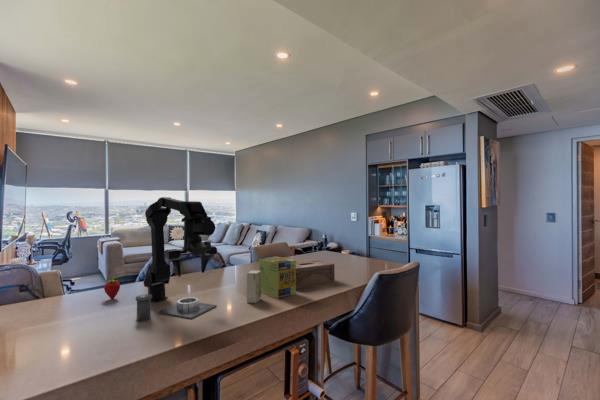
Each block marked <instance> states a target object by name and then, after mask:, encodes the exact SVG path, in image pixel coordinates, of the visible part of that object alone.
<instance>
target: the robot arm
mask: <svg viewBox="0 0 600 400" xmlns="http://www.w3.org/2000/svg"><path fill="white" fill-rule="evenodd" d="M172 210H174V211H178V212H179V214H180V215H182V216H184V217H183V218H182V219H181V220H180V221H181V223H184V224H183V226H184V227H183V236H182V239H183V247H182V250H179V249H177V248H172V249H170V248H169V249H165V226H166V224H167V222H168V216H169V215H170V214H171V212H172ZM144 213H145V215H144V216H145V218H146V219H145V221H146V223H147V224H148V226H149V227H150V231H151V232H150V234H151V235H150V238H151V260H152V261H151V264H150V265H149V266H148V271H147V275H146V277H144V280H143V286H144V287H146V288H148V289H147V290H148V291H147V294H151V295H152V298H151V302H153V303H157V302H160V301H164V300H166V299H168V298H169V297H168V296H167V295H166V286H165V285H167V284H168V285H169V284H170V279H171V274H172V273H171V265H170V264H169V263H167V262H166V259H167V260H168V261H171V262H172V265H173V267H174V269H175V272H176V274H177V276H178V277H179V278H180V277H181V272H182V271H181V261H182V259H181V258H180V257H181V256H189V255H190V256H191V255H192V256H194V257H198V256H200V257H201V259H200V263H201V265H200V267H201V269H200V270H201V273H205V271H206V268H207V265H208V263H209V261H210V259H211V258H212V257H214V256H215V255H217V254H218V248H217V247H216V246H213V245H212V242H211V241H209V240H206V241H202V236H212V235H213V234H214V233H215V230H216V225H215V222H214V221H213V220H212V217H211V216H208V214H207V212H206V209H205V208H204V206H203V203H202V202H201V201H197V200H196V201H189V200H186V201H184V200H180V199H176V198H172V197H169V196H168V197H167V196H163V197H159V198H158V199H157V200H156V201H154V202H153V203H151V204H150V205H149V206H148V207H147V209H145V212H144Z"/></svg>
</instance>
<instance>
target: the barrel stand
mask: <svg viewBox="0 0 600 400" xmlns="http://www.w3.org/2000/svg"><path fill="white" fill-rule="evenodd" d="M217 307H218V305H217V304H210V303H203V302H200V299H199V298H198V297H194V296H192V297H191V296H190V297H183V298H180V299H177V301H176V303H175V304H173V305H171V306H168V307H166V308H163V309H161V310H158V311H157V314H161V315H165V316H172V317H177V318H181V319H182V318H183V319H188V320H193V319H194V318H197V317H199V316H200V315H203V314H205V313H207V312H209V311H211V310H213V309H214V308H217Z"/></svg>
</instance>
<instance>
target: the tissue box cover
mask: <svg viewBox="0 0 600 400" xmlns="http://www.w3.org/2000/svg"><path fill="white" fill-rule="evenodd" d="M335 274H336V273H335V263H333V262H329V261H325V260H322V259H315V260H313V259H311V260H304V261H296V290H297V289H302V288H303V289H304V288H308V287H315V286H321V285H328V284H334V283H335Z"/></svg>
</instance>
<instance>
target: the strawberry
mask: <svg viewBox="0 0 600 400" xmlns="http://www.w3.org/2000/svg"><path fill="white" fill-rule="evenodd" d="M110 277H111V280H105V281H104V282H105V284H104V287H103V289H104V292H105V295H107V297H108V298H110V299H111V300H114V299H115V298H116V296H117V295H118V294H119V291H120V288H121V284H120V282H119V279H114V278H112V276H110Z"/></svg>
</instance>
